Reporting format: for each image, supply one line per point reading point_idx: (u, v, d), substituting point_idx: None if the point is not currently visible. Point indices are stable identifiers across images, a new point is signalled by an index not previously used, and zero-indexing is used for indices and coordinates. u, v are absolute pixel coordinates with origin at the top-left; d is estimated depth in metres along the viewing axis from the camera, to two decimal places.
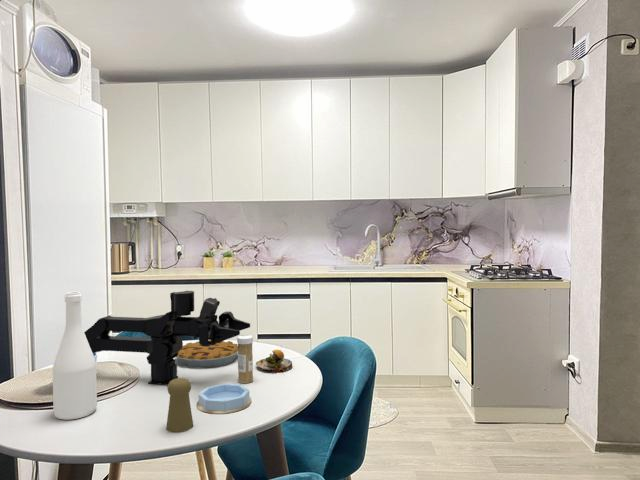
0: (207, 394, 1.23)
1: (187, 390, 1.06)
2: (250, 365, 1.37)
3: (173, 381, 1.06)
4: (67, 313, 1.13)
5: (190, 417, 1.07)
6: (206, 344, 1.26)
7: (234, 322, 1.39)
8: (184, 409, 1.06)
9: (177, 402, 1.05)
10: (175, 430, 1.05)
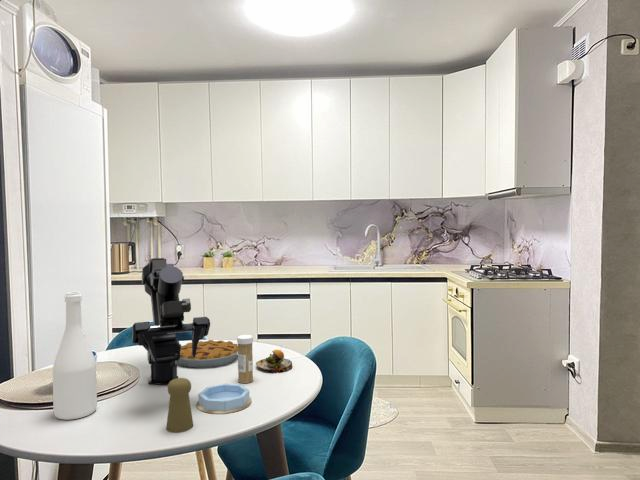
0: (207, 394, 1.23)
1: (187, 390, 1.06)
2: (250, 365, 1.37)
3: (173, 381, 1.06)
4: (67, 313, 1.13)
5: (190, 417, 1.07)
6: None
7: (193, 338, 1.19)
8: (184, 409, 1.06)
9: (177, 402, 1.05)
10: (175, 430, 1.05)
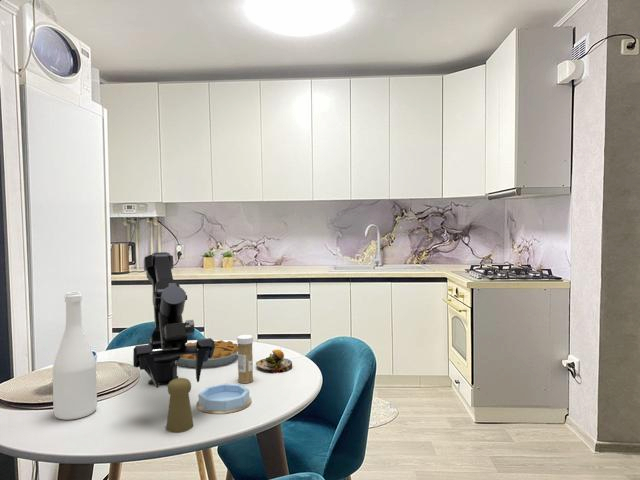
0: (207, 394, 1.23)
1: (187, 390, 1.06)
2: (250, 365, 1.37)
3: (173, 381, 1.06)
4: (67, 313, 1.13)
5: (190, 417, 1.07)
6: None
7: (197, 361, 1.14)
8: (184, 409, 1.06)
9: (177, 402, 1.05)
10: (175, 430, 1.05)
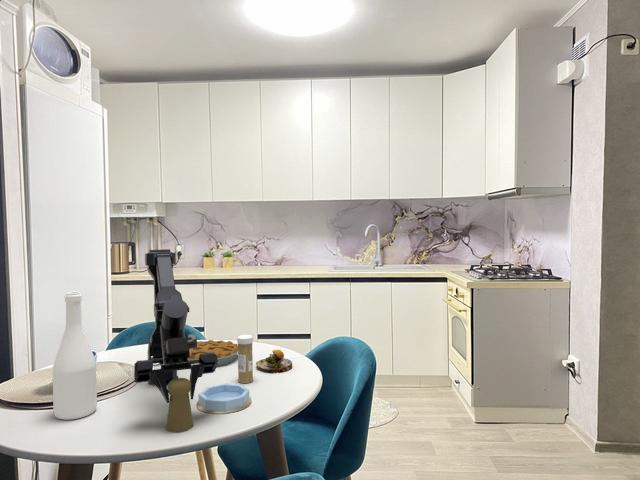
0: (207, 394, 1.23)
1: (187, 390, 1.06)
2: (250, 365, 1.37)
3: (173, 381, 1.06)
4: (67, 313, 1.13)
5: (190, 417, 1.07)
6: None
7: (191, 377, 1.10)
8: (184, 409, 1.06)
9: (177, 402, 1.05)
10: (175, 430, 1.05)
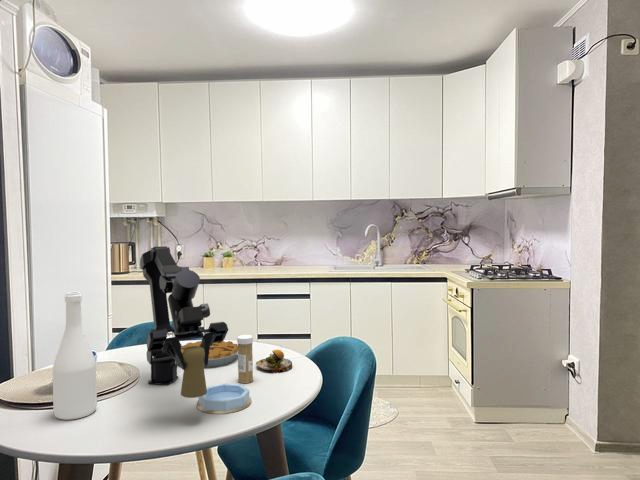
0: (207, 394, 1.23)
1: (202, 357, 1.09)
2: (250, 365, 1.37)
3: (188, 348, 1.09)
4: (67, 313, 1.13)
5: (204, 383, 1.11)
6: (147, 349, 1.10)
7: (203, 345, 1.13)
8: (199, 375, 1.09)
9: (193, 368, 1.08)
10: (191, 395, 1.08)
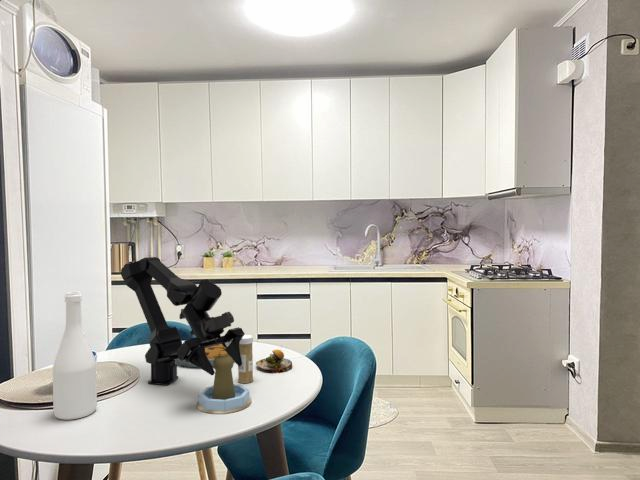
0: (207, 394, 1.23)
1: None
2: (250, 365, 1.37)
3: (220, 358, 1.20)
4: (67, 313, 1.13)
5: None
6: (180, 358, 1.17)
7: (234, 348, 1.26)
8: (231, 381, 1.21)
9: (226, 376, 1.20)
10: None
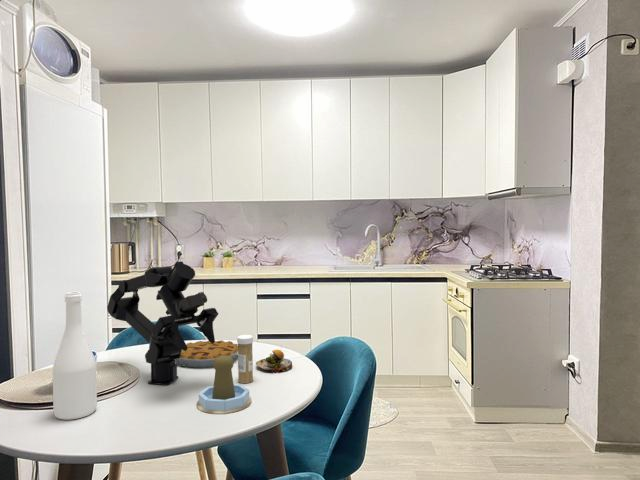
0: (207, 394, 1.23)
1: None
2: (250, 365, 1.37)
3: (220, 358, 1.20)
4: (67, 313, 1.13)
5: None
6: (154, 335, 1.24)
7: (207, 327, 1.33)
8: (231, 381, 1.21)
9: (226, 376, 1.20)
10: None
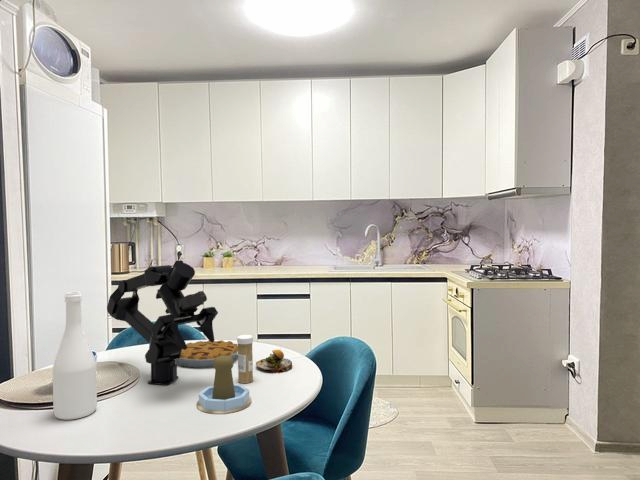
0: (207, 394, 1.23)
1: None
2: (250, 365, 1.37)
3: (220, 358, 1.20)
4: (67, 313, 1.13)
5: None
6: (154, 334, 1.24)
7: (207, 326, 1.33)
8: (231, 381, 1.21)
9: (226, 376, 1.20)
10: None
